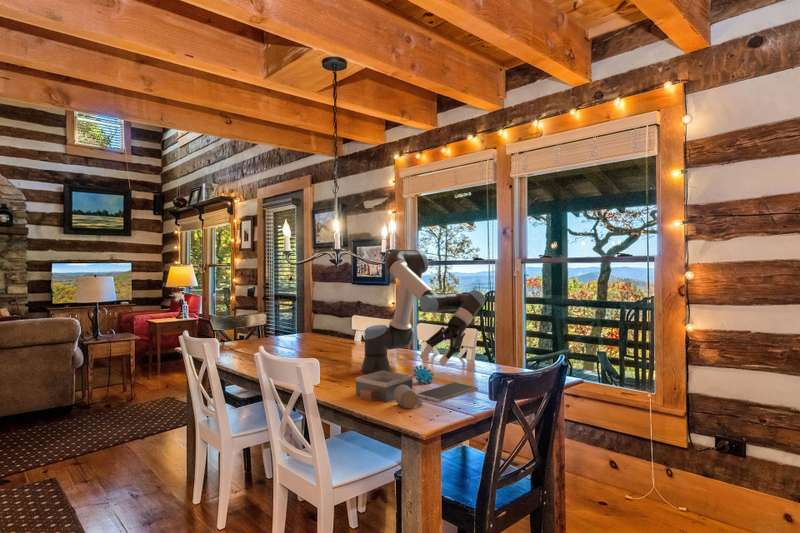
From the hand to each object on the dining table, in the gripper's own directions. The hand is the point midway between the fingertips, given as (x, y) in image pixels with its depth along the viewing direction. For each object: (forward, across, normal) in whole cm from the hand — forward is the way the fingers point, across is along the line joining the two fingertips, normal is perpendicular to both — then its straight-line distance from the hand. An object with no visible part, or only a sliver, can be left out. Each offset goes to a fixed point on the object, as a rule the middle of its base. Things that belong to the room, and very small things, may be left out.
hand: (431, 361), depth 189 cm
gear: (+1, +27, -22) cm, 34 cm away
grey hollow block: (+20, +19, -3) cm, 28 cm away
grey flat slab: (+3, +7, -21) cm, 22 cm away
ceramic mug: (+19, 0, -4) cm, 20 cm away
